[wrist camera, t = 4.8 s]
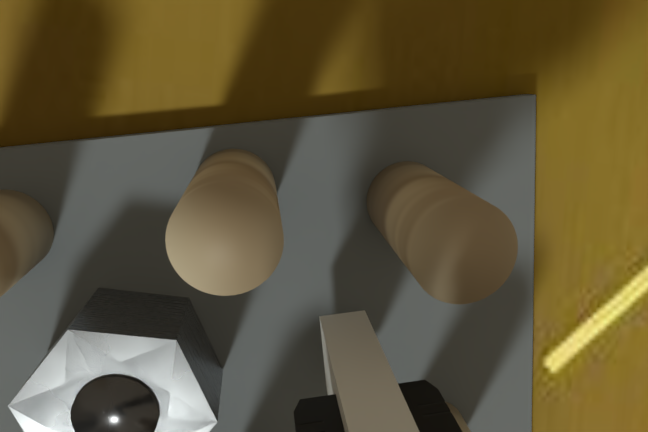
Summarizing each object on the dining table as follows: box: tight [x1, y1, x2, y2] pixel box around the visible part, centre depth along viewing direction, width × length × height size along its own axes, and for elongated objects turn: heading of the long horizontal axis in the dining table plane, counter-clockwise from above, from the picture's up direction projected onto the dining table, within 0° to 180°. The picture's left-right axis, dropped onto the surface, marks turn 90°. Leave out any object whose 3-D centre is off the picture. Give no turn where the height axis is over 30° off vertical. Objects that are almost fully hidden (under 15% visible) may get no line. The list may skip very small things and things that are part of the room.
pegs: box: [0, 149, 518, 432], centre depth 16 cm, size 16×14×6 cm
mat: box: [0, 94, 536, 432], centre depth 19 cm, size 30×16×1 cm, turn 95°
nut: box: [8, 287, 223, 432], centre depth 17 cm, size 5×6×3 cm
